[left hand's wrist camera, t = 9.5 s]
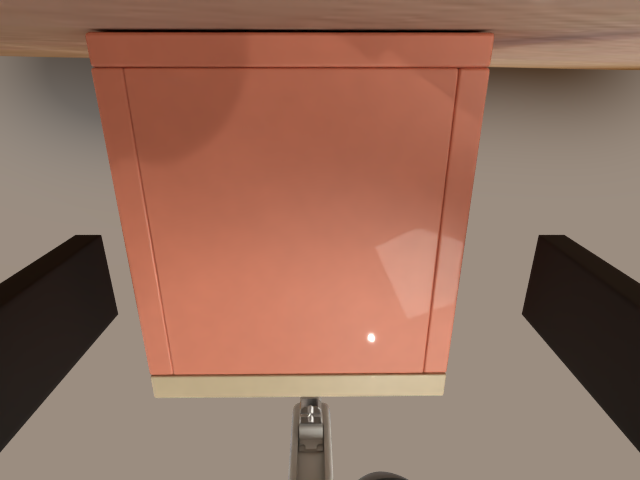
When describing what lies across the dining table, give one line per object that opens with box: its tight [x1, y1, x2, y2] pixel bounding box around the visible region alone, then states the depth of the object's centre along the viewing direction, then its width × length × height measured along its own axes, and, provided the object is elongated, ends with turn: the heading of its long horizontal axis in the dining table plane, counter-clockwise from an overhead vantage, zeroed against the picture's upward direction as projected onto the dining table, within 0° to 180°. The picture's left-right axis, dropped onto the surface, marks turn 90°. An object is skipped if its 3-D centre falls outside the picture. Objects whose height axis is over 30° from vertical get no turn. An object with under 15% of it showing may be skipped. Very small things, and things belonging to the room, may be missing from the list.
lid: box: [151, 371, 446, 398], centre depth 21 cm, size 15×9×8 cm, turn 179°
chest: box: [86, 32, 494, 375], centre depth 17 cm, size 14×9×9 cm, turn 179°
